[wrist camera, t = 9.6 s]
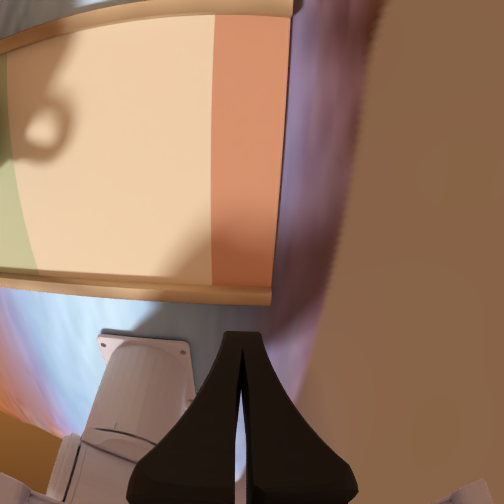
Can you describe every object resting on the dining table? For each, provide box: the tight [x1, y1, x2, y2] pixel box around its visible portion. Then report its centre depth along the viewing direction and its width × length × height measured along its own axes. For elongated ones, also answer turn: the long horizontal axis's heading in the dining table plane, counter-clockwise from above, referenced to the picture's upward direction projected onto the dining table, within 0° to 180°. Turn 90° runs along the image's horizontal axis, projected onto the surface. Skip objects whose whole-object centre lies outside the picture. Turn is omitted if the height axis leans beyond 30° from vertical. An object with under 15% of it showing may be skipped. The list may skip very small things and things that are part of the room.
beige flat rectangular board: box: [0, 0, 293, 306], centre depth 17 cm, size 19×33×1 cm, turn 88°
